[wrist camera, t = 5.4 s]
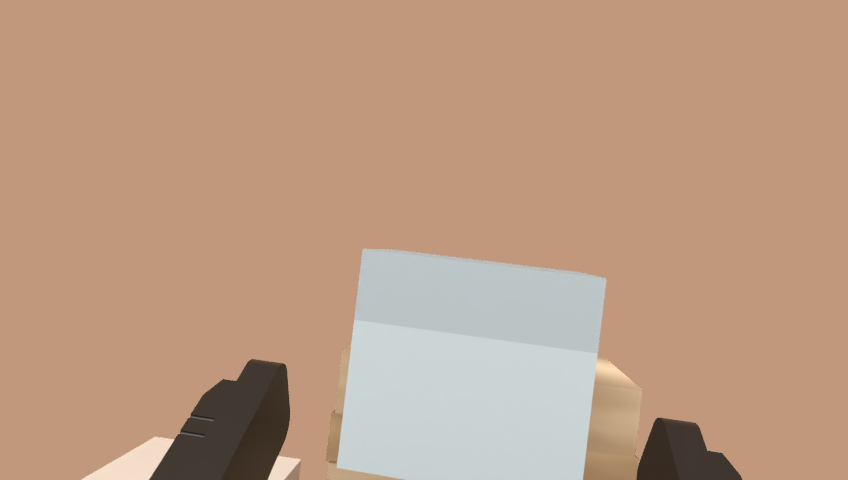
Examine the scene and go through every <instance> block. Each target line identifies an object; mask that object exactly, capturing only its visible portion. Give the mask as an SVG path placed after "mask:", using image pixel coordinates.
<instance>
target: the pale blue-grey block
mask: <svg viewBox="0 0 848 480" xmlns="http://www.w3.org/2000/svg"><path fill="white" fill-rule="evenodd" d="M605 287H606V279H605V278H602V277H598V276H593V275H590V274H586V273H582V272H574V271H566V270H558V269H549V268H540V267H533V266H525V265H517V264H508V263H500V262H492V261H484V260H476V259H467V258H459V257H451V256H443V255H434V254H426V253H417V252H410V251H402V250H386V249H363V251H362V260H361V268H360V277H359V285H358V293H357V302H356V310H355V318H354V327H353V335H352V343H351V352H350V360H349V368H348V377H347V385H346V393H345V402H344V410H343V418H342V427H341V435H340V443H339V452H338V460H337V468H341V469H347V470H352V471H358V472H364V473H370V474H376V475H381V476H387V477H393V478H399V479H404V480H583V474H584V466H585V457H586V449H587V440H588V432H589V423H590V415H591V406H592V398H593V389H594V381H595V372H596V364H597V355H598V346H599V338H600V329H601V321H602V312H603V303H604V295H605Z"/></svg>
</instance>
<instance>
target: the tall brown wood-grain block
mask: <svg viewBox="0 0 848 480" xmlns="http://www.w3.org/2000/svg"><path fill="white" fill-rule="evenodd" d="M350 352H351V343H350V344H349V345H347V346H346V347H345V348H343V351H342V360H341V368H340V377H339V385H338V394H337V401H336V409H335V410H334V411H333V412H332V414H331V422H330V430H329V439H328V447H327V456H326V460H327V461H329V468H328V477H327V480H404V479H399V478H393V477H387V476H381V475H376V474H370V473H364V472H358V471H352V470H347V469H341V468H337V460H338V452H339V443H340V435H341V427H342V418H343V410H344V402H345V393H346V385H347V377H348V368H349V360H350ZM642 391H643V390H642V389H641V388H639V387H638V386H637V385H636V384H635V383H633V382H632V381H631V380H630V379H629V378H628V377H627V376H625V375H624V374H623V373H622V372H621V371H620V370H618V369H617V368H616V367H615V366H614V365H613V364H612V363H610V362H609V361H608V360H607V359H606V358H605V357H603V356H602V355H601V354H600V353H599V352H598V355H597V364H596V372H595V381H594V389H593V398H592V406H591V415H590V423H589V432H588V440H587V449H586V457H585V466H584V474H583V480H636V478H637V469H638V461H639V459H638V458H637V456H636V455H635V451H636V443H637V434H638V425H639V417H640V408H641V399H642Z"/></svg>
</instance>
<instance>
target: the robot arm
mask: <svg viewBox="0 0 848 480" xmlns="http://www.w3.org/2000/svg"><path fill="white" fill-rule="evenodd" d="M288 393H289V392H288V379H287V368H286V365H285V364H282V363H275V362H268V361H262V360H255V359H251V360H250V361H249V362H248V363H247V364H246V366H245V368H244V369H243V371H242V373H241V375H240V376H239V378H238V380H237V381H230V380H224V379H223V380H222V381H220V382H219V383H218V384H217V385H215V386H214V387H213V388H211V389H210V390H209V391H207V392H206V393H205V394H204V395H203V396H202V398H201V399H200V401H199V402H198V404H197V405H196V407H195V408H194V410H193V412H192V413H191V417H190V418H188V420H187V421H186V423H185V424H184V426H183V427H182V429H181V432H180V434H178V435H177V437H176V438H175V440H174V441H173V443H172V444H171V446H170V448H169V449H168V451H167V452H166V454H165V455H164V457H163V459H162V460H161V462H160V463H159V465H158V466H157V468H156V470H155V471H154V473H153V474H152V476H151V477H150V479H149V480H268V478H269V475H270V473H271V471H272V468H273V466H274V464H275V462H276V459H277V457H278V455H279V452H280V450H281V448H282V445H283V443H284V441H285V438H286V435H287V431H288V427H289V421H290V405H289V394H288ZM637 480H742V478H741V476H740V475H739V473H738V472H737V471H736V470H735V468H734V467H733V466H732V465H731V463H730V462H729V461H728V460H727V459H726V457H725V456H724V455H723V454H722V453H717V452H711V451H707V449H706V446H705V443H704V440H703V437H702V434H701V431H700V428H699V427H698V425H697V424H696V423H692V422H685V421H678V420H672V419H665V418H657V419H656V420H655V422H654V424H653V427H652V430H651V433H650V435H649V438H648V441H647V444H646V446H645V449H644V452H643V455H642V457H641V460H640V463H639V466H638V470H637Z"/></svg>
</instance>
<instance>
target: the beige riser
mask: <svg viewBox="0 0 848 480" xmlns="http://www.w3.org/2000/svg"><path fill="white" fill-rule="evenodd" d="M173 441H174V440H173V439H167V438H160V437H154V438H153V439H151V440H149V441H147V442H146V443H144V444H142V445H141V446H139V447H137V448H135V449H133V450H132V451H130V452H128V453H127V454H125V455H123V456H121V457H120V458H118V459H116V460H115V461H113V462H111V463H109V464H107V465H106V466H104V467H102V468H101V469H99V470H97V471H95V472H94V473H92V474H90V475H88V476H87V477H85V478H83V479H82V480H149V479H150V477H151V476H152V474H153V473H154V471H155V470H156V468H157V466H158V465H159V463H160V462H161V460H162V459H163V457H164V455H165V454H166V452H167V451H168V449H169V448H170V446H171V444H172V443H173ZM300 465H301V459H294V458H288V457H282V456H278V457H277V459H276V462H275V464H274V466H273V468H272V471H271V473H270V475H269V478H268V480H299V474H300Z"/></svg>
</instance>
